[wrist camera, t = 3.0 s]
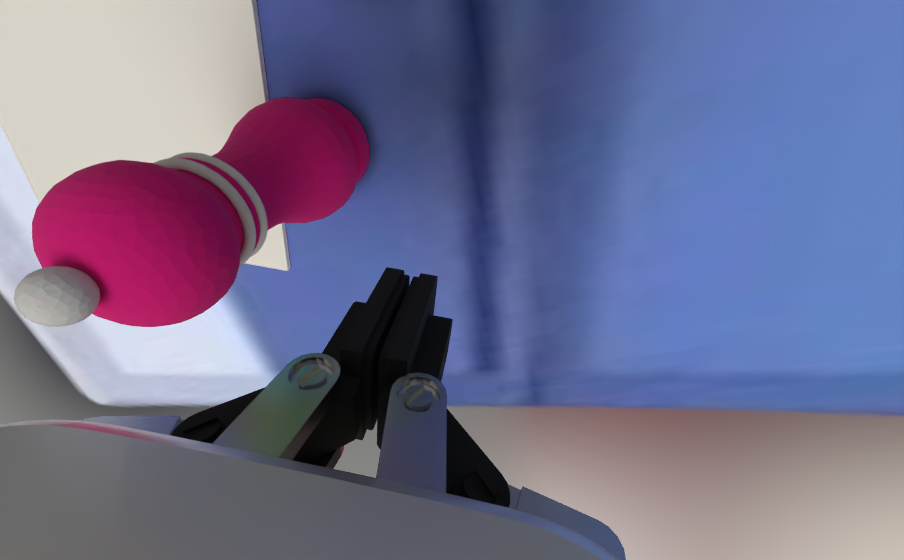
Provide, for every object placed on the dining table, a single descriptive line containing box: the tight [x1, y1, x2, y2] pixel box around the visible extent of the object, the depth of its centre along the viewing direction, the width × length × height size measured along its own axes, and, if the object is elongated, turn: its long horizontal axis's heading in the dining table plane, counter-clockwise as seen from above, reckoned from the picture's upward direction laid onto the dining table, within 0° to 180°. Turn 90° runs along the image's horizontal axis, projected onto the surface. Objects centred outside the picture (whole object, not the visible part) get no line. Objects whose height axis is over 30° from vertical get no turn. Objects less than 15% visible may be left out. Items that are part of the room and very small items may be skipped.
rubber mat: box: [0, 0, 291, 271], centre depth 28 cm, size 22×22×1 cm
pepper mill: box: [14, 97, 370, 327], centre depth 19 cm, size 7×7×20 cm
